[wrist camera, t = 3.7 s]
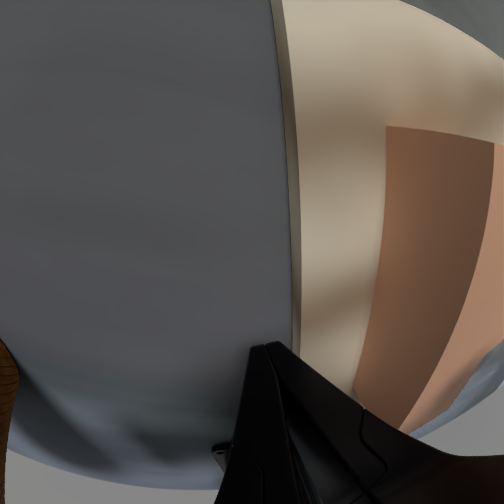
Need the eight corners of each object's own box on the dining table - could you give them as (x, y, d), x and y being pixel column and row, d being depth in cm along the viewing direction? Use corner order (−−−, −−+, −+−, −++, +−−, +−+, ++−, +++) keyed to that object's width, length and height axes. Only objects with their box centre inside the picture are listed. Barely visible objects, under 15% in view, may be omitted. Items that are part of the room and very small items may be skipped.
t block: (484, 319, 14) (517, 350, 10) (352, 386, 12) (386, 445, 9) (523, 151, 9) (573, 170, 5) (386, 125, 7) (494, 143, 3)
